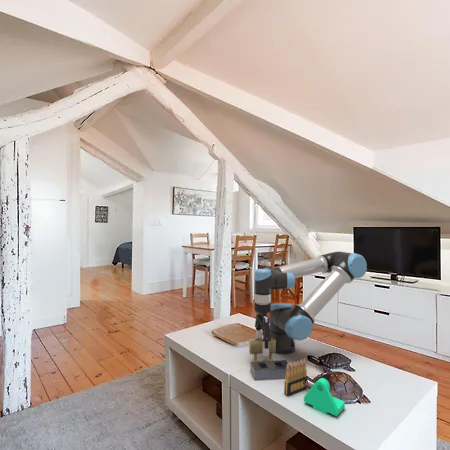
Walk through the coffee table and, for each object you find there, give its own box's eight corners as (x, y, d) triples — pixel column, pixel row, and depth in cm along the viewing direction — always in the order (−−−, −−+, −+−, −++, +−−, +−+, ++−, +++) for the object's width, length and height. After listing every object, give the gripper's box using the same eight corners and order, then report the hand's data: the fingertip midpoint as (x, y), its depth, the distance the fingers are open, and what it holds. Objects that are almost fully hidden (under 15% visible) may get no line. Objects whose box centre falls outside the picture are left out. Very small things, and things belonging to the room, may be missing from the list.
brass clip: (273, 361, 143) (273, 337, 143) (275, 363, 140) (275, 340, 140) (248, 362, 142) (248, 338, 142) (250, 365, 139) (250, 341, 139)
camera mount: (345, 409, 107) (345, 379, 107) (336, 419, 101) (336, 388, 101) (313, 395, 115) (313, 368, 115) (303, 404, 109) (304, 375, 109)
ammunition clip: (287, 397, 114) (287, 364, 114) (284, 394, 115) (284, 363, 115) (307, 389, 119) (308, 358, 119) (304, 386, 121) (304, 356, 121)
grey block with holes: (285, 369, 135) (285, 360, 135) (292, 378, 127) (292, 368, 127) (250, 371, 133) (250, 361, 133) (254, 380, 125) (254, 370, 125)
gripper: (249, 296, 153) (248, 339, 153) (261, 310, 129) (260, 361, 129) (263, 296, 154) (263, 339, 154) (278, 309, 130) (277, 360, 130)
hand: (262, 349), depth 141 cm, fingers open, 12 cm apart
